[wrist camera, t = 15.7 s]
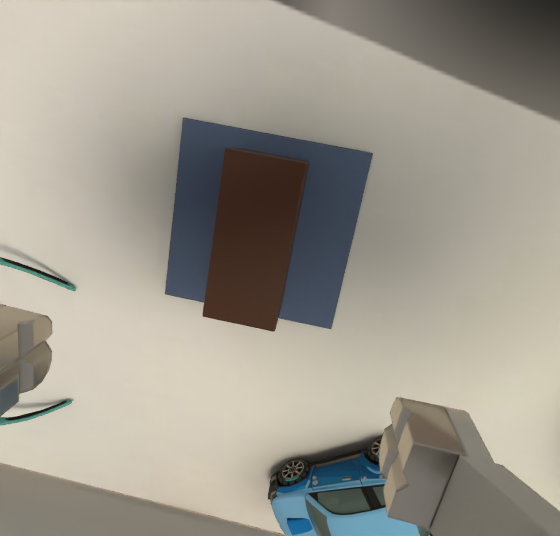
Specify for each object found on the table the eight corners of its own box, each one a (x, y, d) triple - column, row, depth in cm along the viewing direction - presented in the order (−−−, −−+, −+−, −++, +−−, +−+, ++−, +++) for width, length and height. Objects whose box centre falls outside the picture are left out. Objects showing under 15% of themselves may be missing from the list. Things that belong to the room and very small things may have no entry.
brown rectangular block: (239, 148, 26) (224, 148, 22) (309, 161, 26) (306, 163, 22) (218, 294, 29) (202, 316, 25) (281, 307, 29) (274, 331, 25)
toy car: (264, 462, 33) (252, 524, 27) (414, 426, 30) (434, 487, 25) (289, 519, 34) (283, 589, 29) (435, 489, 32) (458, 560, 26)
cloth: (184, 118, 26) (183, 117, 26) (372, 153, 25) (372, 153, 25) (166, 292, 30) (164, 294, 29) (330, 327, 29) (331, 329, 29)
